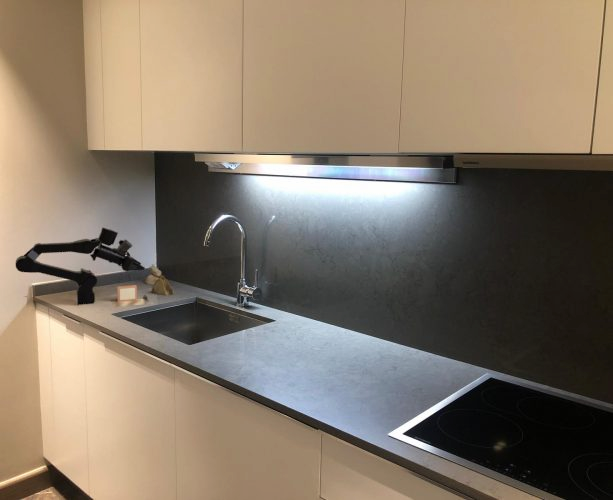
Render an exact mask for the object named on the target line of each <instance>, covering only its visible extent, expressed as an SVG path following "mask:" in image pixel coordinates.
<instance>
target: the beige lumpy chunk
mask: <svg viewBox="0 0 613 500" xmlns="http://www.w3.org/2000/svg"><path fill="white" fill-rule="evenodd" d="M149 270H150V274H149V275H148V276H147V277H146V278H145V280H144V284H147V285H154V283H155V282H156V281H157V280H158V279H159V278H160V277H161V275H162V274H163V273H162V270H160V269H158V268H157V266H156V265H155V264H151V265H150V266H149Z"/></svg>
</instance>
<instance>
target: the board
mask: <svg viewBox="0 0 613 500" xmlns="http://www.w3.org/2000/svg"><path fill="white" fill-rule="evenodd" d="M147 298H148V299H149V300H151V299H150V297H147ZM144 300H145V298H144V297H143V298H137V300H135V301H124V302H118V300H112V301H111V304H112V305H113V307H114V308H118V307H119V308H120V307H129V306H139V305H140V306H143V305H147V304H146V303H145V302H144ZM150 305H153V302H152V303H151V304H150Z"/></svg>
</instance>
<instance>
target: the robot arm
mask: <svg viewBox="0 0 613 500" xmlns="http://www.w3.org/2000/svg"><path fill="white" fill-rule="evenodd" d="M118 234H119V233H118V231H115V230H112V229H110V228H109V229H108V228H105V227H102V228H101V229H100V233H99V236H98V237H96V238H92V239H89V238H82V239H78V240H74V241H69V242H52V243H48V242H47V243H40V242H38V243H35V244H34V246H33V247H31V248H30V249H29V250H28V251H27V252H25V253H24V254H23V255H20V256H18V257H17V258H16V260H15V268H16V270H17V271H19V272H21V273H31V274H34V273H35V274H37V273H40V274H44V275H47V276H51V277H56V278H61V279H66V280H70V281H73V282H76V287H77V288H78V289H76V298H77V299H76V300H77V301H76V304H77V306H78V307H79V306H82V305H83V306H84V305H92V304H93V305H94V304H95V302H96V301H95V300H96V296H95V291H94V290H93V288H94V287H95V286H96V285H97V283H98V278H97V276H96V275H95V274H94V272H93V271H91V270H90V269H89V270H87V269H85V268H80V270H78V271H76V270H71V269H67V268H63V267H59V266H55V265H50V264H46V263H43V262H40V261H39V260H37V259H38V258H39V257H40V256H41V254H53V253H54V254H55V253H77V254H85V255H89V256H90V257H91V259H92V261H93V262H94V261H96V259H97V258H99V259H101V260H105V261H107V262H108V263H112V264H115V265H118V267H121V269H122V270H123V271H125V272H132V271H145V269H146V267H145V266H143V265H142V263H141V262H140V261H138V260H137V259H135V258H134V257H133V256H131V254H130V252H129V250H130V249H131V248H132V247H133V244H132V243H131V242H130V241H128V240H127V239H124V240H122V239H120V240H119V241H118V244H119V245H118V247H117V248H115V247H113V248H111V247H110V246H112V245H114V243H115V241H116V238H117V237H118Z"/></svg>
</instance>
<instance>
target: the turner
mask: <svg viewBox="0 0 613 500" xmlns="http://www.w3.org/2000/svg"><path fill="white" fill-rule="evenodd" d="M144 298H145V300H144V302H145V303H146V304H145V305H152V304H151V303H153V301H152V300H151V299H150V298H149V297H148V296H147V295H146V294H144V295H143V299H144ZM148 298H149V299H150V300H149V299H148Z"/></svg>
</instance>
